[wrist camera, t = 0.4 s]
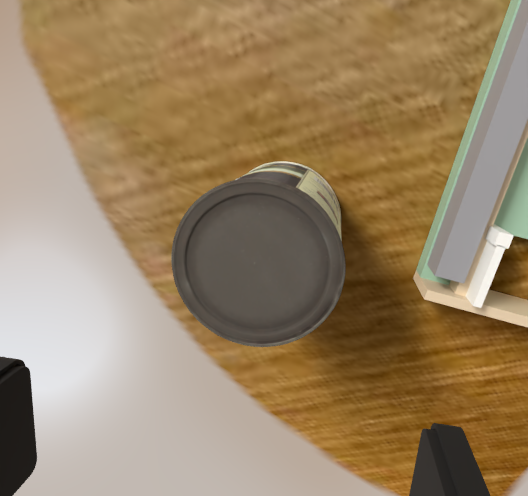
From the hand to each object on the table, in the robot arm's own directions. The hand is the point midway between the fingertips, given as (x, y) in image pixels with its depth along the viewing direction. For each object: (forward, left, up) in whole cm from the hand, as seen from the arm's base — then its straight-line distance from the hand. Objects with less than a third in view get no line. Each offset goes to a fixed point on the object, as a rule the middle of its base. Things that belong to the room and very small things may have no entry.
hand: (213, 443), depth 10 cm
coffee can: (+1, -2, -30) cm, 30 cm away
